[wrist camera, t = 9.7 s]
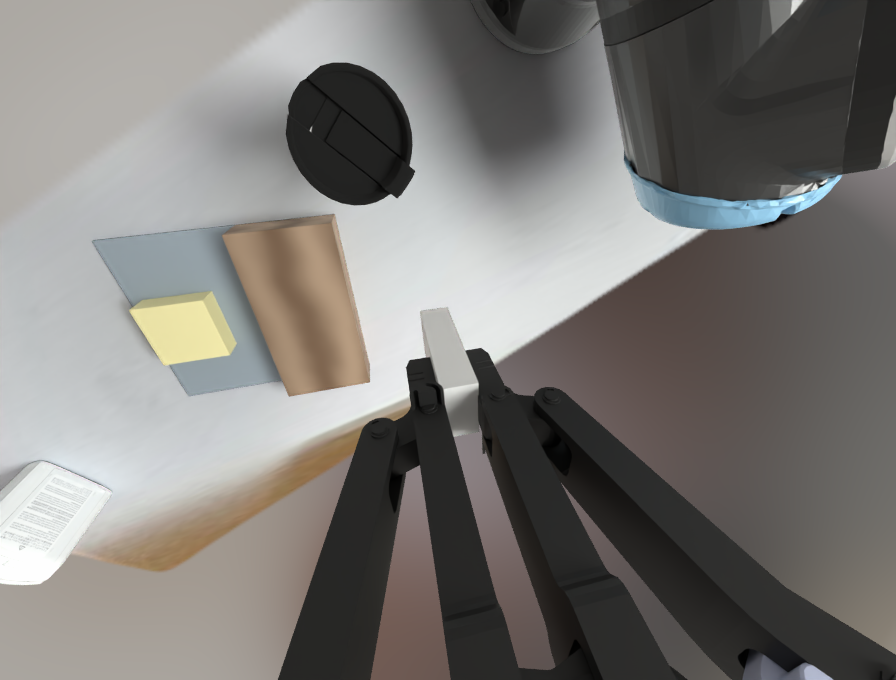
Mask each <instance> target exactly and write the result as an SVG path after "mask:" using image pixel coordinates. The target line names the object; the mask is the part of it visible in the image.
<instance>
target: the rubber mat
mask: <svg viewBox="0 0 896 680" xmlns="http://www.w3.org/2000/svg"><path fill="white" fill-rule="evenodd" d="M233 226H235V225H231V226H222V227H212V228H203V229H194V230H185V231H175V232H166V233H157V234H147V235H138V236H129V237H120V238H110V239H101V240H93V241H92V242H93V244H94V246H95V247H96V249H97V250H98V252H99V254H100V255H101V257H102V258H103V260H104V262H105V263H106V265H107V266H108V268H109V270H110V271H111V273H112V274H113V276H114V277H115V279H116V281H117V282H118V284H119V285H120V287H121V289H122V290H123V292H124V293H125V295H126V297H127V298H128V300H129V301H130V303H131V305H132V306H133V307H134V306H135V305H136V304H138V303H139V302H140V301H142V300H147V299H154V298H162V297H169V296H177V295H184V294H192V293H200V292H207V291H212V293H213V295H214V297H215V299H216V301H217V303H218V305H219V307H220V309H221V311H222V314H223V316H224V318H225V320H226V322H227V324H228V326H229V328H230V330H231V333H232V335H233V337H234V339H235V341H236V343H237V344H236V346H235V348H234V349H233V351H232V353H231V354H230V355H228V356H221V357H215V358H209V359H202V360H196V361H190V362H183V363H177V364H171V365H170V367H171V368H172V370H173V372H174V373H175V375H176V376H177V378H178V380H179V381H180V383H181V384H182V386H183V388H184V389H185V391H186V392H187V394H188V396H193V395H199V394H205V393H211V392H217V391H223V390H229V389H234V388H240V387H246V386H252V385H258V384H264V383H270V382H276V381H282V379H281V376H280V374H279V371H278V369H277V367H276V364H275V362H274V360H273V357H272V355H271V352H270V350H269V348H268V345H267V343H266V340H265V338H264V336H263V333H262V331H261V328H260V326H259V324H258V321H257V319H256V316H255V314H254V312H253V309H252V307H251V304H250V302H249V300H248V297H247V295H246V292H245V290H244V288H243V285H242V283H241V280H240V278H239V276H238V273H237V271H236V268H235V266H234V264H233V261H232V259H231V256H230V254H229V252H228V249H227V247H226V244H225V242H224V240H223V237H222V235H223V234H224V233H225V232H227V231H228V230H229V229H231V228H232V227H233Z"/></svg>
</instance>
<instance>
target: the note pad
mask: <svg viewBox="0 0 896 680" xmlns="http://www.w3.org/2000/svg"><path fill="white" fill-rule="evenodd" d="M129 312H130V313H131V315H132V316H133V318H134V320H135V321H136V323H137V324H138V326H139V327H140V329H141V330H142V332H143V334H144V335H145V337H146V338H147V340H148V341H149V343H150V345H151V346H152V348H153V349H154V351H155V352H156V354H157V356H158V357H159V359H160V360H161V362H162V363H163V365H171V364H177V363H183V362H190V361H196V360H202V359H209V358H215V357H221V356H228V355H230V354H231V353H232V351H233V349H234V348H235V346H236V344H237V343H236V341H235V339H234V337H233V335H232V333H231V330H230V328H229V326H228V324H227V322H226V320H225V318H224V316H223V314H222V311H221V309H220V307H219V305H218V303H217V301H216V299H215V297H214V295H213V293H212V291H207V292H200V293H192V294H184V295H177V296H169V297H162V298H154V299H147V300H142V301H140V302H139V303H138V304H136V305H135V306H134V307H132V308H131V309H130V310H129Z"/></svg>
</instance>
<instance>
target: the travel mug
mask: <svg viewBox="0 0 896 680" xmlns="http://www.w3.org/2000/svg"><path fill="white" fill-rule="evenodd" d="M288 109H289V115H288V118H287V128H286V137H287V141H288V146H289V150H290V152H291V155H292V157H293V160H294V162H295V164H296V165H297V167H298V169H299V170H300V172H301V174H302V175H303V176H304V177H305V178H306V180H307V181H308V182H309V183H310V184H311V185H312V186H313V187H314V188H315V189H317V190H318V191H319V192H320V193H322V194H323V195H325V196H327V197H328V198H330V199H332V200H335V201H338V202H340V203H343V204H349V205H367V204H371V203H375V202H378V201H380V200H382V199H384V198H385V197H387V196H388V195H390V194H392V195H393V196H395V197H396V198H398V197H399V196H400V195H401V194H402V193H403V191H404V190H405V188H406V187H407V186H408V184H409V182H410V181H411V179H412V178H413V175H414V173H415V170H413V169H412V168H411V167H410V166H409V165H410V160H411V154H412V132H411V127H410V123H409V119H408V116H407V114H406V111H405V109H404V107H403V104H402V103H401V101H400V100H399V98H398V96H397V95H396V93H395V92H394V91H393V90H392V89H391V87H390V86H389V85H388V84H387V83H386V82H385V81H384V80H383V79H381V78H380V77H379V76H377V75H376V74H375V73H373V72H372V71H369V70H367V69H365V68H363V67H361V66H358V65H354V64H350V63H330V64H326V65H322V66H320V67H319V68H317V69H316V70H315V71H314V72H313V73H311V74H310V75H309V76H308V77H307V79H305V80H303V81H301V82H300V83H299V85H298V86H297V88H296V89H295V91H294V92H293V95H292V97H291V100H290V103H289V105H288Z"/></svg>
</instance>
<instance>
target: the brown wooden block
mask: <svg viewBox="0 0 896 680" xmlns="http://www.w3.org/2000/svg"><path fill="white" fill-rule="evenodd" d="M222 237H223V240H224V242H225V244H226V247H227V249H228V252H229V254H230V256H231V259H232V261H233V264H234V266H235V268H236V271H237V273H238V276H239V278H240V280H241V283H242V285H243V288H244V290H245V292H246V295H247V297H248V300H249V302H250V304H251V307H252V309H253V312H254V314H255V316H256V319H257V321H258V324H259V326H260V328H261V331H262V333H263V336H264V338H265V340H266V343H267V345H268V348H269V350H270V352H271V355H272V357H273V360H274V362H275V364H276V367H277V369H278V371H279V374H280V376H281V379H282V381H283V383H284V386H285V388H286V391H287V393H288V395H289V396H295V395H300V394H306V393H312V392H317V391H323V390H329V389H334V388H340V387H346V386H351V385H357V384H363V383H368V382H370V364H369V360H368V356H367V351H366V347H365V343H364V338H363V334H362V330H361V326H360V321H359V317H358V313H357V308H356V304H355V300H354V295H353V291H352V287H351V283H350V278H349V274H348V270H347V265H346V261H345V257H344V252H343V248H342V244H341V240H340V235H339V231H338V227H337V222H336V218H335V214H333V215H323V216H314V217H305V218H296V219H286V220H277V221H268V222H259V223H249V224H240V225H235V226H233V227H232V228H231V229H229V230H228V231H227V232H225V233H224V234H223V235H222Z"/></svg>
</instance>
